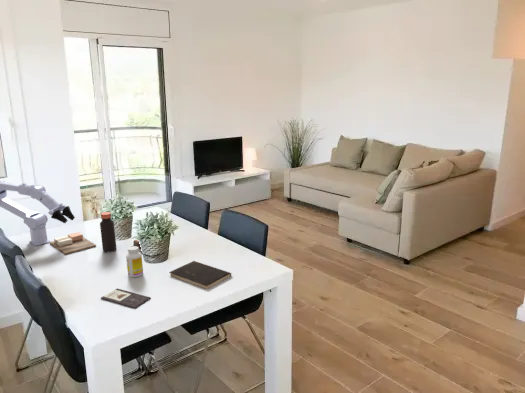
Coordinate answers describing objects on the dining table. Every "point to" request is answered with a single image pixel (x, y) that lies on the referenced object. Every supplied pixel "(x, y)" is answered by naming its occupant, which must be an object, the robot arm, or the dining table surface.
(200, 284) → the hardcover book
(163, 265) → the dining table surface
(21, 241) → the dining table surface
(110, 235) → the vinegar
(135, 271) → the supplement bottle
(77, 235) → the block
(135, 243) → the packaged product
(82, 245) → the board
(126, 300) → the chocolate bar
